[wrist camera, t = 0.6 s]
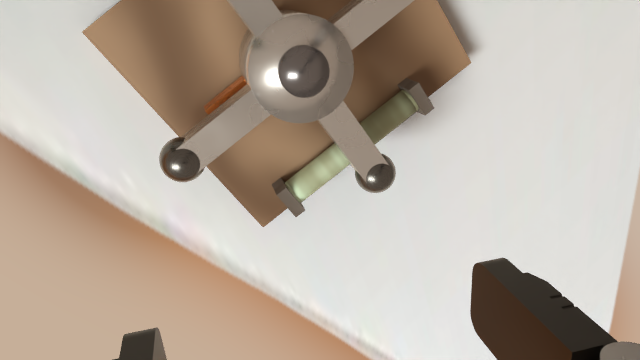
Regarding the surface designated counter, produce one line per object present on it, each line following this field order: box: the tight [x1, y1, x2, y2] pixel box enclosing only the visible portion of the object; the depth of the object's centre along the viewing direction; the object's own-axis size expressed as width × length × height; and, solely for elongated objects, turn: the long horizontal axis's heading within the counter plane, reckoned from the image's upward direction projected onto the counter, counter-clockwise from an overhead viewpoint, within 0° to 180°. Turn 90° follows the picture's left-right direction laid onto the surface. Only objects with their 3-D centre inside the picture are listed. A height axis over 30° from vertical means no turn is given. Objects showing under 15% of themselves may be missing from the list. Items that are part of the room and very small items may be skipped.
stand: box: [82, 0, 471, 227], centre depth 32 cm, size 19×17×4 cm
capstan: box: [159, 0, 414, 193], centre depth 30 cm, size 20×20×5 cm
